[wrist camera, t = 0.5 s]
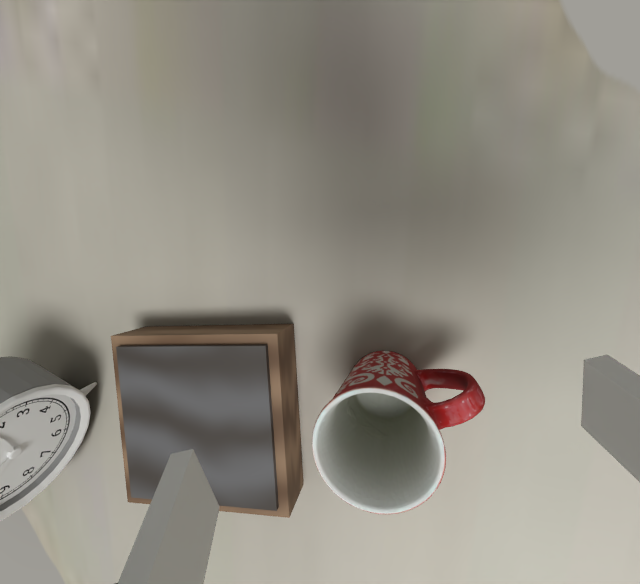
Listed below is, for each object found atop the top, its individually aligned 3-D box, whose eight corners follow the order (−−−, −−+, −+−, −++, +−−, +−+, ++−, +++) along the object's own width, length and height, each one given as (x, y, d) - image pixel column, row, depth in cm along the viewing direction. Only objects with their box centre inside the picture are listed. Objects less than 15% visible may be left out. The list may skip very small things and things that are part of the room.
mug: (361, 438, 39) (342, 530, 26) (327, 360, 39) (291, 411, 26) (479, 401, 36) (525, 482, 23) (443, 316, 36) (468, 349, 23)
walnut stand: (145, 326, 43) (106, 337, 38) (293, 323, 40) (275, 335, 34) (159, 473, 45) (123, 505, 39) (303, 484, 41) (287, 521, 35)
